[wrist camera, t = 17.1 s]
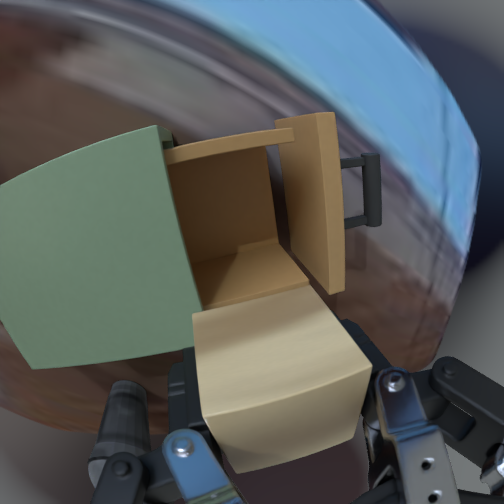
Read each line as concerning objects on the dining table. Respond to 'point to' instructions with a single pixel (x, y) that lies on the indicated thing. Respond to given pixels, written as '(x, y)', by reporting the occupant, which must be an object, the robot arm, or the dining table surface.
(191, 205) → the drawer
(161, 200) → the cabinet
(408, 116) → the dining table surface
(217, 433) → the block
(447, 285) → the dining table surface
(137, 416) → the beverage cup
